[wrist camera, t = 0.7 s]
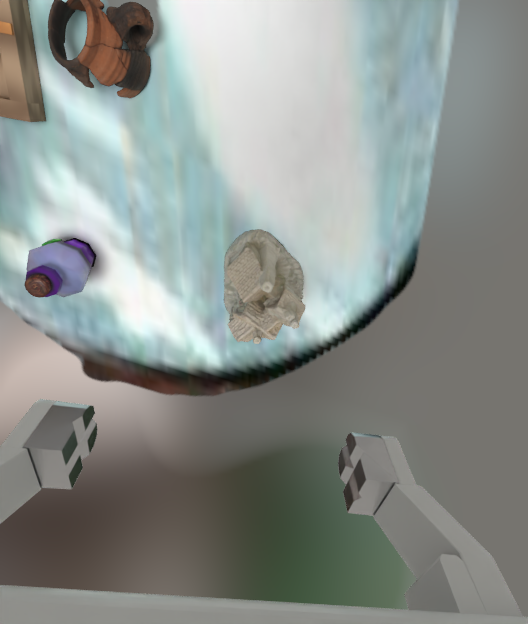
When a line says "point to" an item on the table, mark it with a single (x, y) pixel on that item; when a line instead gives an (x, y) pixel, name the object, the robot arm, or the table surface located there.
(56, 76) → the table surface
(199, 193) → the table surface
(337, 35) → the table surface
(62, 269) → the potion bottle
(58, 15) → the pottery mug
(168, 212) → the table surface
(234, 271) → the ceramic cottage
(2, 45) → the square wooden tray
